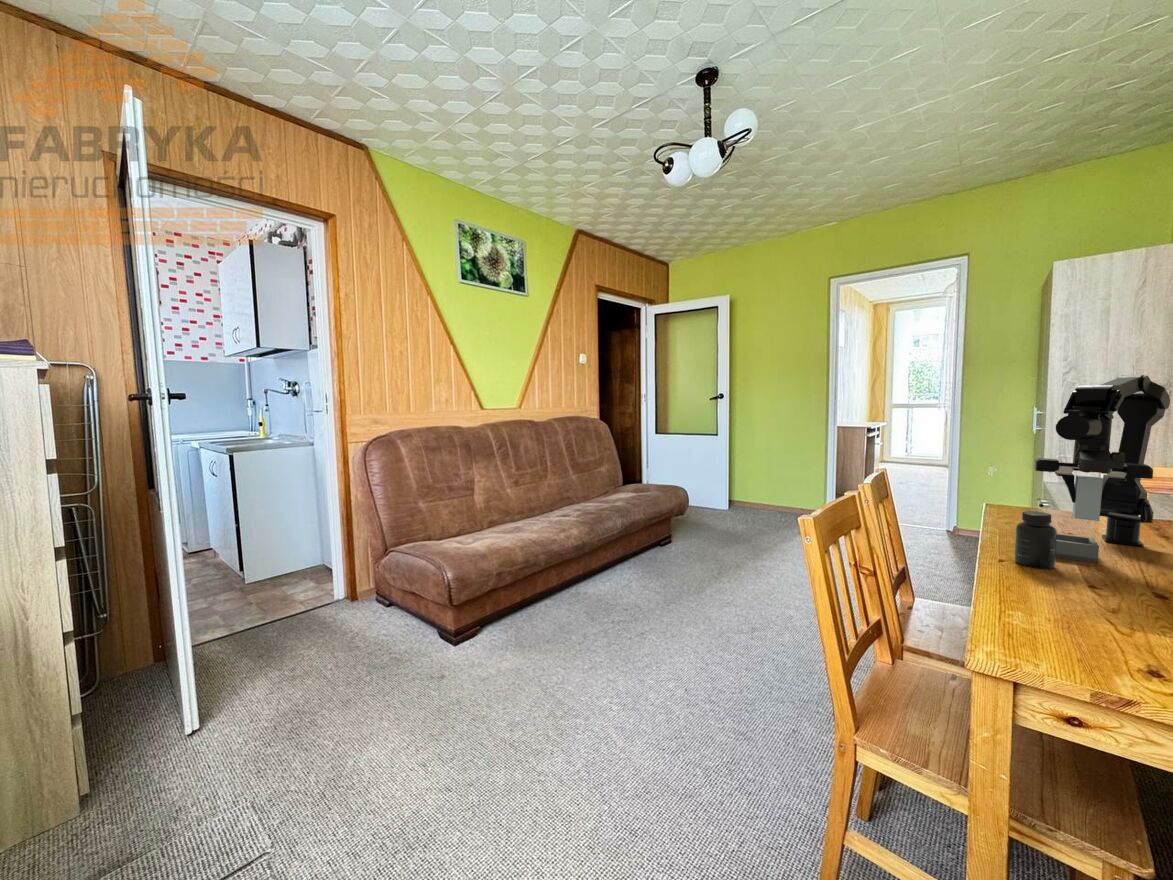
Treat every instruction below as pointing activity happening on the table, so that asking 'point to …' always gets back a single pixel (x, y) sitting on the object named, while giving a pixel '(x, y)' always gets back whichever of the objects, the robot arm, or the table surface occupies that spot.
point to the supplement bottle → (1035, 541)
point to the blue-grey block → (1087, 497)
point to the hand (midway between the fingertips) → (1086, 503)
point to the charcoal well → (1077, 548)
